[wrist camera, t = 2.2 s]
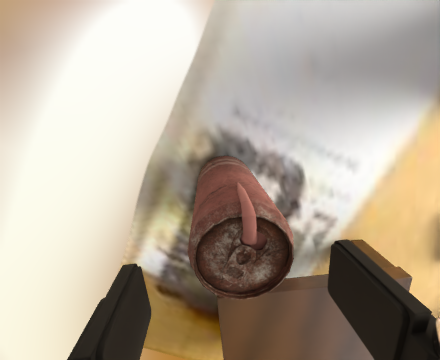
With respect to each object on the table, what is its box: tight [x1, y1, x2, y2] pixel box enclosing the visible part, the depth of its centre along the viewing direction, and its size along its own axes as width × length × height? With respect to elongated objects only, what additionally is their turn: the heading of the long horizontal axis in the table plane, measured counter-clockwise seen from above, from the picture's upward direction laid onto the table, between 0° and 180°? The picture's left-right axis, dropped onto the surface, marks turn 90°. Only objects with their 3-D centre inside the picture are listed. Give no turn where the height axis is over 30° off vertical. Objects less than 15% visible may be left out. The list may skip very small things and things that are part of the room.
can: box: [188, 156, 294, 300], centre depth 18 cm, size 6×6×14 cm
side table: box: [217, 240, 412, 360], centre depth 27 cm, size 20×16×7 cm
